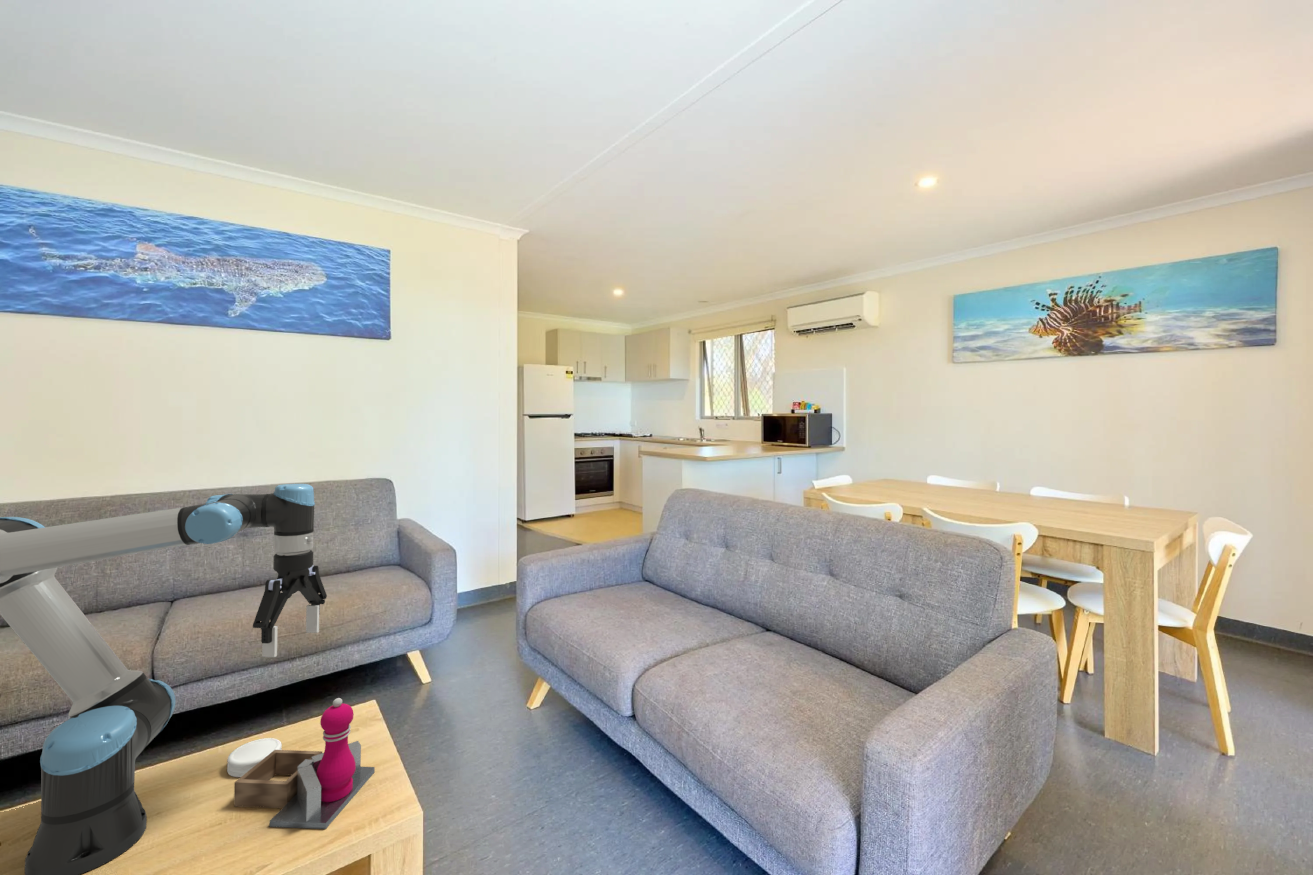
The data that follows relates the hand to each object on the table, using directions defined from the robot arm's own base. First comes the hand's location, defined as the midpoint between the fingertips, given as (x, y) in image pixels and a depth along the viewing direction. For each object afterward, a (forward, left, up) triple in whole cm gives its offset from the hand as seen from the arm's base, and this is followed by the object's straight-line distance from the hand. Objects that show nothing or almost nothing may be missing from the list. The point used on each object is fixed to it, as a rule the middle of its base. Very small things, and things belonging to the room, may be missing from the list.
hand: (292, 643), depth 119 cm
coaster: (-9, +1, -29) cm, 31 cm away
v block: (+14, -9, -29) cm, 33 cm away
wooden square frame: (+3, -7, -29) cm, 30 cm away
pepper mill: (+16, -9, -28) cm, 33 cm away
